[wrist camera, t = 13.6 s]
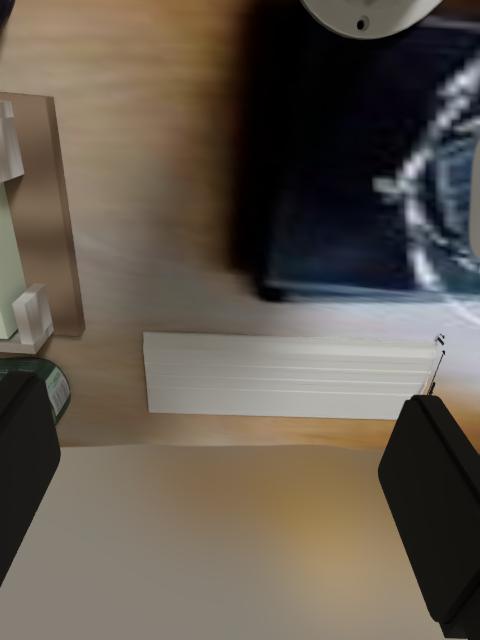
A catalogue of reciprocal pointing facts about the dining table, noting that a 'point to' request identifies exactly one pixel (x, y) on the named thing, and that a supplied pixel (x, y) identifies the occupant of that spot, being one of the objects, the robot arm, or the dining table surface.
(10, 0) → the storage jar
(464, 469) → the robot arm
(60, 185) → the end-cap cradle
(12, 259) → the pale green long block
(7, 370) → the coffee jar
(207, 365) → the baseboard molding
